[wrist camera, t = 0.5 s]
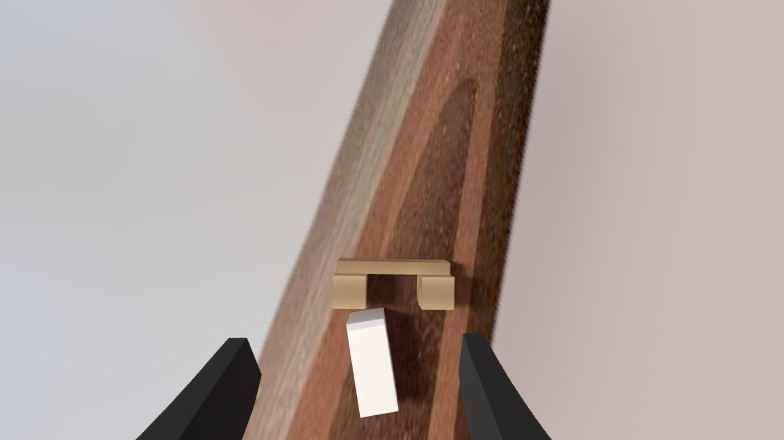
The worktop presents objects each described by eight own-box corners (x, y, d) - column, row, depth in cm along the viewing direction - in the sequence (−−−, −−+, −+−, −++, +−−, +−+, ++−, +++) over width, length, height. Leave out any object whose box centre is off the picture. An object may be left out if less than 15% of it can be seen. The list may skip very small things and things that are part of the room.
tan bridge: (445, 300, 35) (453, 309, 31) (338, 298, 34) (332, 308, 30) (446, 259, 35) (454, 264, 31) (339, 258, 35) (333, 262, 31)
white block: (396, 389, 35) (398, 410, 31) (362, 395, 34) (360, 417, 30) (383, 307, 35) (383, 318, 31) (350, 313, 35) (346, 324, 31)
